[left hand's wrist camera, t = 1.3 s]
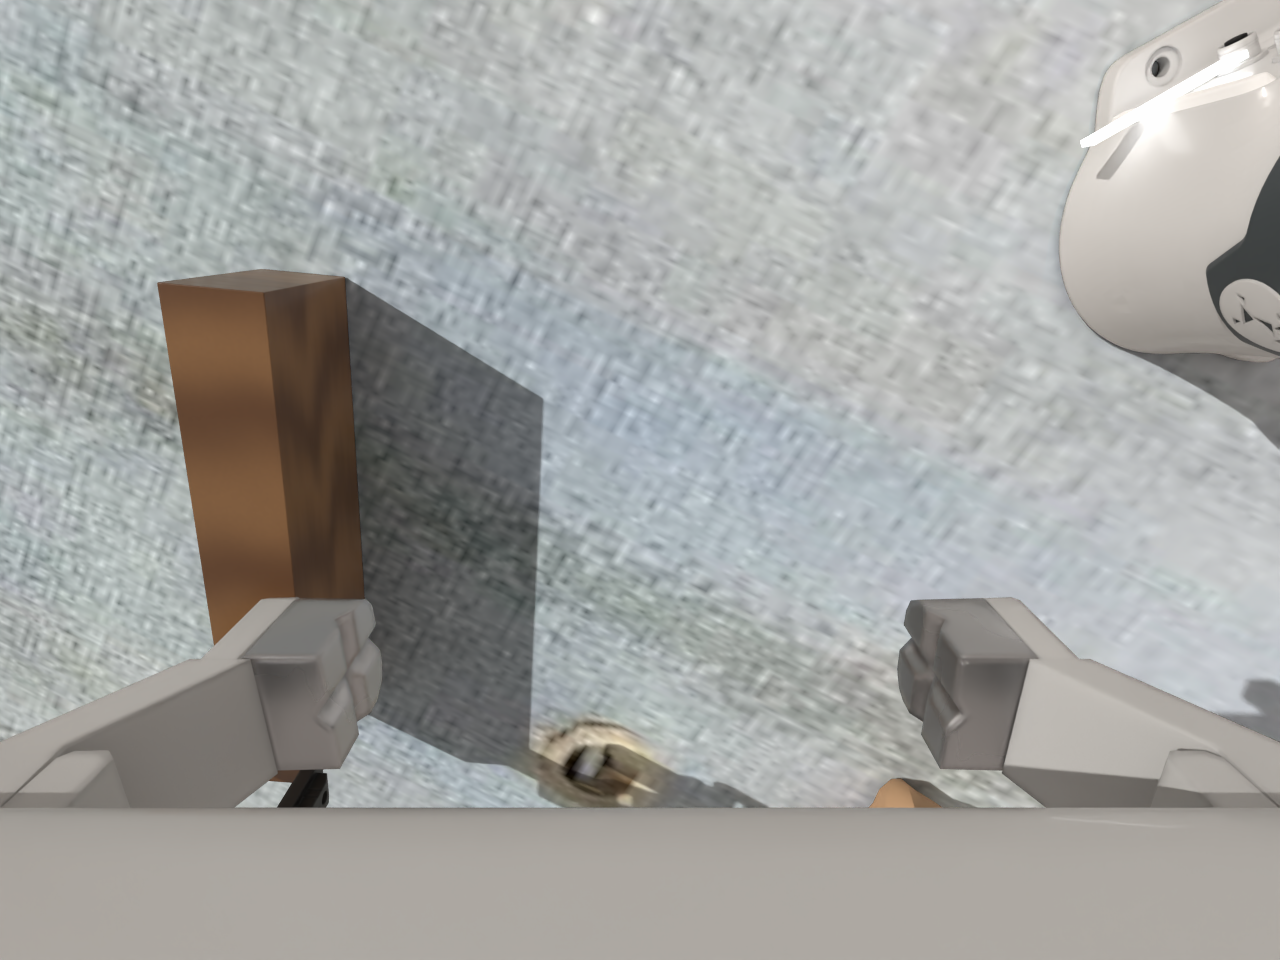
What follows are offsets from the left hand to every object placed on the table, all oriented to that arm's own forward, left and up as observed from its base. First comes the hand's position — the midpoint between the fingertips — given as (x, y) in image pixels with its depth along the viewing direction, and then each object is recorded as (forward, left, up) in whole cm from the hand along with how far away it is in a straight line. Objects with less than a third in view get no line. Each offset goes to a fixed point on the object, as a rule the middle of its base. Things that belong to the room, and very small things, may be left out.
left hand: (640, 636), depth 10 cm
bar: (+22, -5, -30) cm, 38 cm away
